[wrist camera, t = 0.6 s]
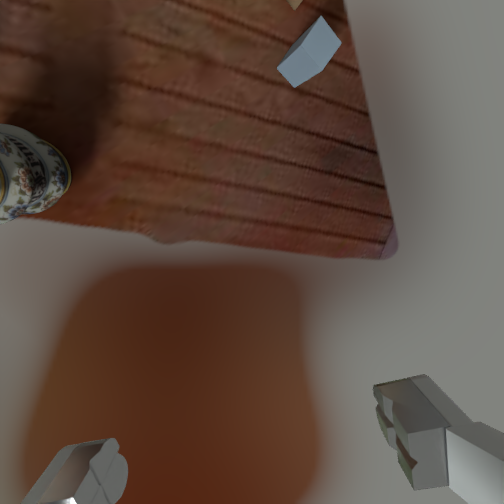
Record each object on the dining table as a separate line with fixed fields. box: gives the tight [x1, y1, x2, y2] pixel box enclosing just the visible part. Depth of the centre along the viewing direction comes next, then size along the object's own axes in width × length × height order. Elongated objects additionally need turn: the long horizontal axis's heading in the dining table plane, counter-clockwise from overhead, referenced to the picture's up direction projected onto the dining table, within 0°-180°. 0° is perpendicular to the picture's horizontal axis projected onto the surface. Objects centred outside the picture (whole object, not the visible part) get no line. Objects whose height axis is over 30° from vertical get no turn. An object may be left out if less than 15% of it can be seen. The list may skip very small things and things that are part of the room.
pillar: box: [277, 16, 341, 88], centre depth 40 cm, size 4×4×10 cm
